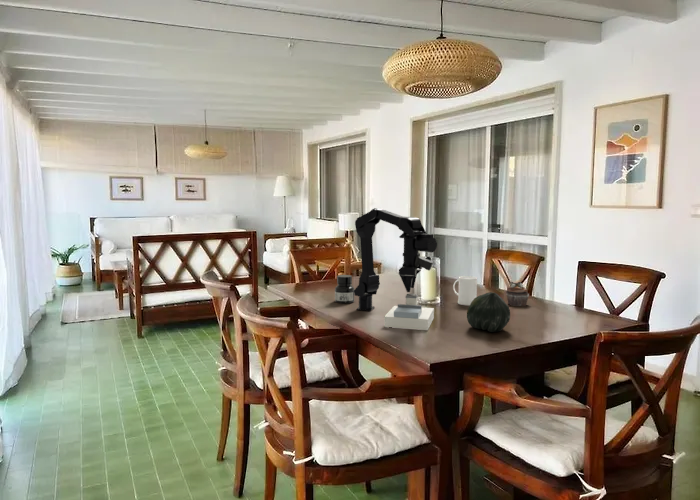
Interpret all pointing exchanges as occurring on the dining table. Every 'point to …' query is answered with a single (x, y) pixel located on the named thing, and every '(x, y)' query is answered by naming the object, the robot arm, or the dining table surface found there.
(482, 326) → the squash
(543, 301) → the dining table surface
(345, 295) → the ink bottle
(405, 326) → the socket block
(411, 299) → the peg
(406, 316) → the panel
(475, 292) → the mug
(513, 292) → the cupcake
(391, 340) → the dining table surface
